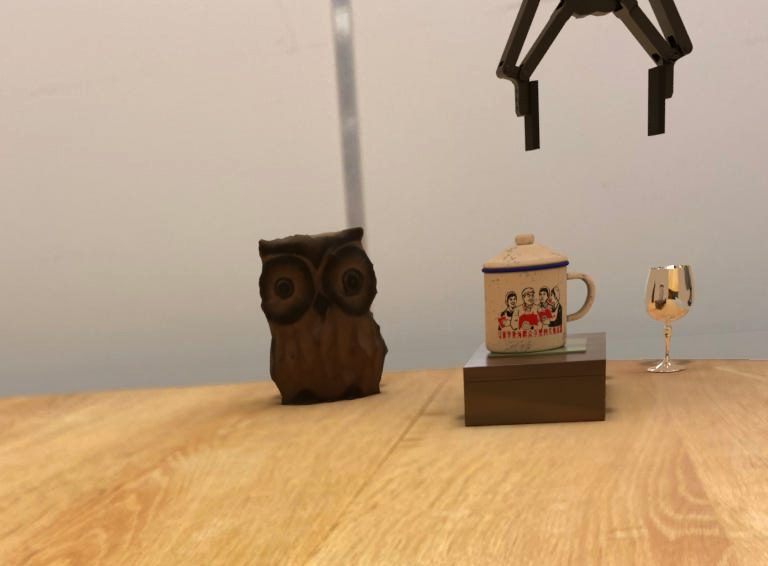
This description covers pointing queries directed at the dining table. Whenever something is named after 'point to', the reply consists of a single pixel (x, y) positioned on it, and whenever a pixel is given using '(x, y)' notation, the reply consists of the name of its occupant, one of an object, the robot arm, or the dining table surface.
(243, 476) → the dining table surface
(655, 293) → the wineglass
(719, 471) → the dining table surface
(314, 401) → the owl
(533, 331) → the teacup with lid
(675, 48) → the robot arm
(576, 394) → the wooden keepsake box
